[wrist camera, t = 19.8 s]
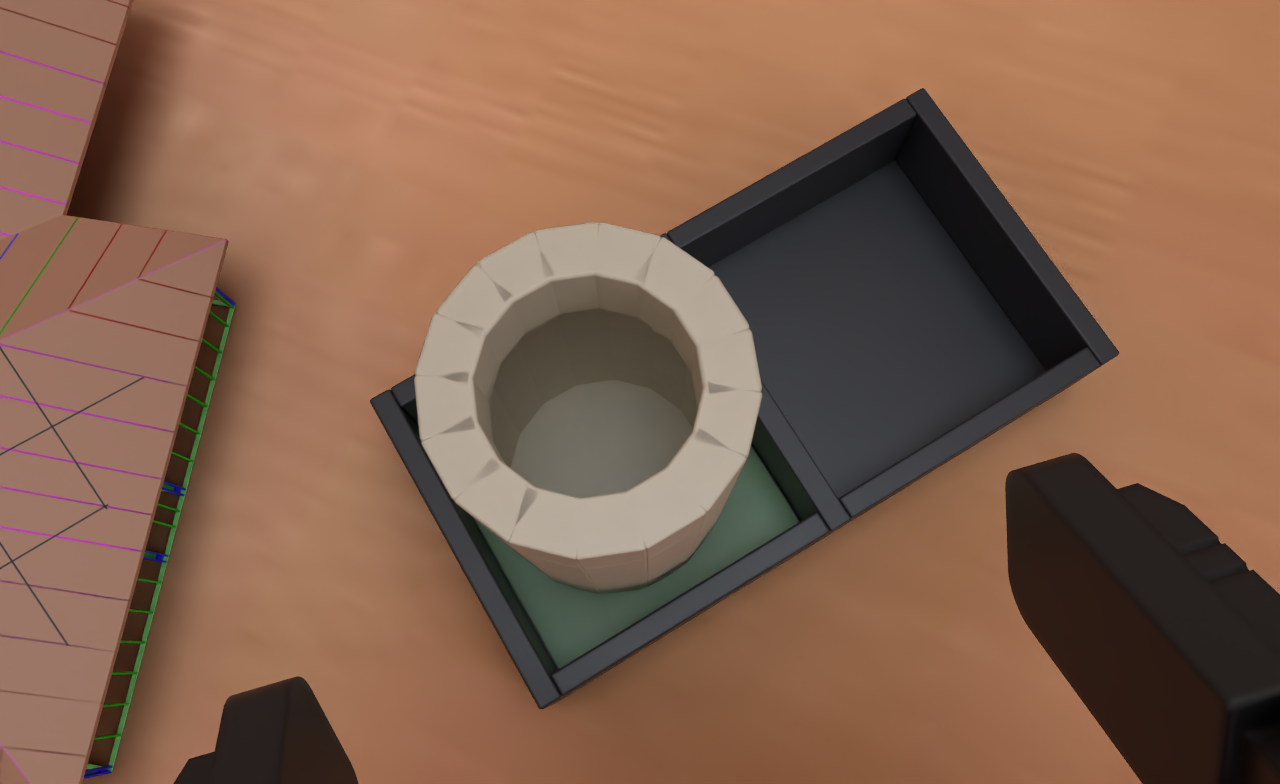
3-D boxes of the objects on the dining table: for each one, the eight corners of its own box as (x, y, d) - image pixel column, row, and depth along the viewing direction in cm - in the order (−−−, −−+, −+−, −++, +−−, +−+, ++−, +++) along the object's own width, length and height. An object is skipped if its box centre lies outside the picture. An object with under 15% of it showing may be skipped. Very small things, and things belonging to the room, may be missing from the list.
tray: (896, 144, 32) (923, 86, 29) (1069, 386, 30) (1121, 353, 27) (399, 427, 30) (368, 399, 27) (552, 704, 28) (539, 710, 25)
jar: (647, 332, 30) (646, 166, 20) (763, 518, 29) (827, 441, 19) (457, 441, 29) (355, 326, 19) (568, 637, 28) (521, 624, 18)
